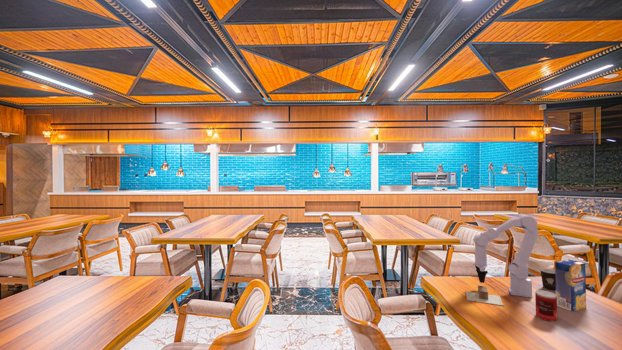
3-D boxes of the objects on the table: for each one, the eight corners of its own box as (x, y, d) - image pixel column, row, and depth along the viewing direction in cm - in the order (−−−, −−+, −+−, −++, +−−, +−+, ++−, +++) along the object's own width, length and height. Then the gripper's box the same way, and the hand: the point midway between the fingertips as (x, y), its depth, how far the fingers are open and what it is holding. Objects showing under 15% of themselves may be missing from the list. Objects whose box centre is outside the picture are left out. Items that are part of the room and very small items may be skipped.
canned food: (548, 313, 134) (548, 290, 134) (562, 321, 126) (561, 297, 126) (531, 312, 135) (531, 289, 135) (543, 321, 127) (543, 297, 127)
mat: (499, 296, 153) (499, 296, 153) (503, 306, 142) (503, 305, 142) (466, 291, 160) (466, 291, 160) (467, 300, 149) (467, 299, 149)
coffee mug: (537, 287, 165) (537, 270, 165) (545, 284, 168) (545, 267, 168) (561, 294, 154) (561, 276, 154) (569, 291, 158) (569, 273, 158)
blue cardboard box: (586, 307, 139) (585, 263, 139) (572, 311, 135) (571, 265, 135) (569, 301, 145) (568, 259, 145) (555, 305, 142) (554, 261, 142)
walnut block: (486, 286, 157) (488, 292, 148) (486, 293, 156) (488, 299, 148) (477, 285, 158) (479, 291, 150) (478, 292, 158) (479, 298, 150)
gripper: (471, 252, 170) (472, 274, 170) (473, 259, 157) (474, 283, 157) (485, 253, 166) (486, 276, 166) (488, 260, 154) (488, 285, 153)
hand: (481, 280), depth 161 cm, fingers open, 7 cm apart
